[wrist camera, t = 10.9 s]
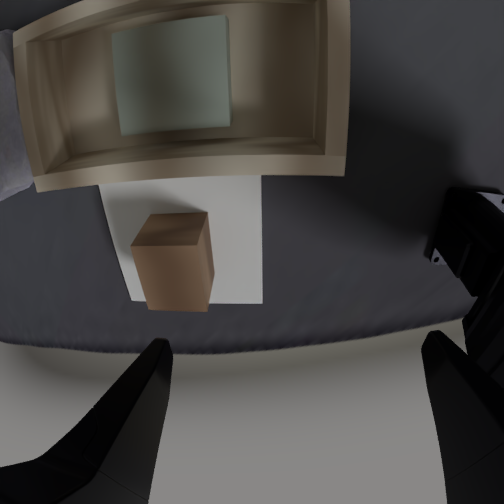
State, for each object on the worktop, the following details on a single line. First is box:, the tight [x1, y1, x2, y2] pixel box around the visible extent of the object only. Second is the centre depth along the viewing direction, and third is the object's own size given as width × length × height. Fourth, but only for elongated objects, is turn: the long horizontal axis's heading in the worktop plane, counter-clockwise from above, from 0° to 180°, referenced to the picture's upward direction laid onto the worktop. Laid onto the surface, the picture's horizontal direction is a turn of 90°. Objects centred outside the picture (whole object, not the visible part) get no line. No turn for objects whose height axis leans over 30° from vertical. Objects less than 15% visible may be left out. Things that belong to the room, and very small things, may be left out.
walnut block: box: [130, 212, 215, 312], centre depth 20 cm, size 4×5×4 cm
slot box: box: [13, 0, 350, 192], centre depth 13 cm, size 17×10×4 cm, turn 92°
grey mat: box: [99, 175, 262, 304], centre depth 22 cm, size 11×11×1 cm
